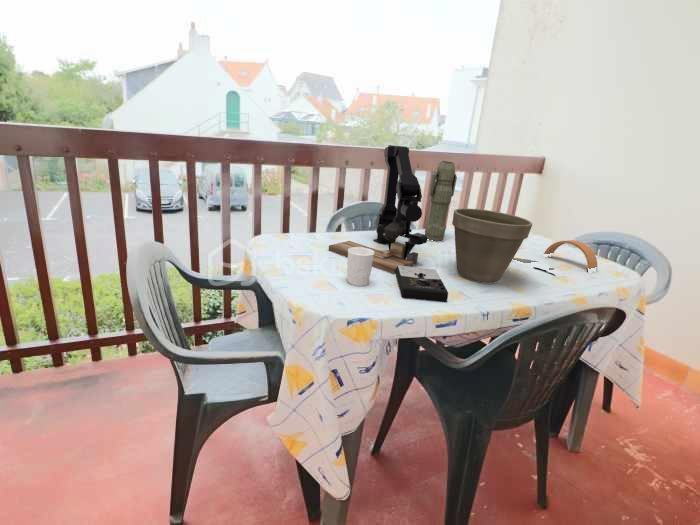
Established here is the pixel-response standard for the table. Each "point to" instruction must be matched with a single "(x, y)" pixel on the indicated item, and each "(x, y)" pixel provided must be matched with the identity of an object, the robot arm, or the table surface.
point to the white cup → (359, 265)
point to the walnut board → (377, 257)
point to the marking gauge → (395, 250)
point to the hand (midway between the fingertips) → (398, 256)
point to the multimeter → (420, 284)
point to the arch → (583, 247)
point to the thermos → (440, 200)
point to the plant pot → (487, 242)
